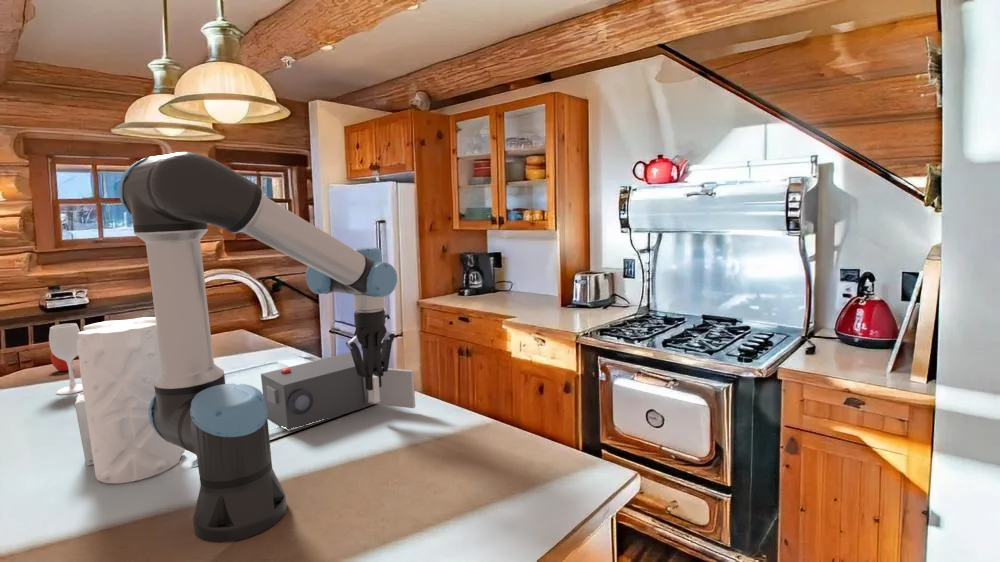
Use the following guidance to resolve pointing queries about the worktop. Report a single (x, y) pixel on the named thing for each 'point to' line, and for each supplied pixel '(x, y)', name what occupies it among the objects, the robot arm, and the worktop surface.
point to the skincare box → (84, 429)
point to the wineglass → (65, 351)
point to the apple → (59, 363)
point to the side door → (395, 389)
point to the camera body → (313, 391)
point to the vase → (123, 399)
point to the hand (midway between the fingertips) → (374, 401)
